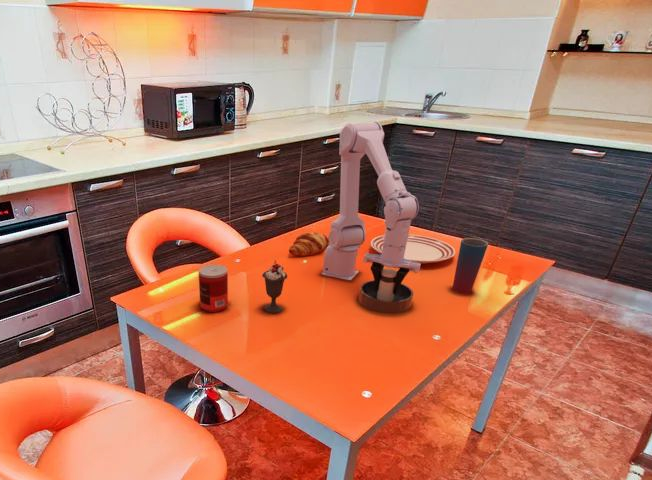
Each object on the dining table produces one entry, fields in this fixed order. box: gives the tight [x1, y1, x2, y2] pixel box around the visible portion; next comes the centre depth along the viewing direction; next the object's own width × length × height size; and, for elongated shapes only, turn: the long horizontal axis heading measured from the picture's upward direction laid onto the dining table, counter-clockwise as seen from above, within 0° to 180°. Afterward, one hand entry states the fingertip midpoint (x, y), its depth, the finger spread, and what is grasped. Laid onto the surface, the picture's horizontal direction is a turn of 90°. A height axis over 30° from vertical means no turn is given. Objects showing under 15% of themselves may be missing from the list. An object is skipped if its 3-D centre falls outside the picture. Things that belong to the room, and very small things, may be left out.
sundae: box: [261, 260, 288, 314], centre depth 128 cm, size 7×7×15 cm
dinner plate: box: [370, 233, 456, 265], centre depth 164 cm, size 27×27×3 cm
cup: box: [451, 237, 489, 295], centre depth 136 cm, size 7×7×15 cm
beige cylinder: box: [377, 268, 398, 301], centre depth 131 cm, size 4×4×8 cm
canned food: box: [198, 264, 229, 313], centre depth 131 cm, size 8×8×11 cm
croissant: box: [288, 231, 330, 257], centre depth 168 cm, size 21×10×8 cm, turn 132°
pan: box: [358, 279, 414, 315], centre depth 133 cm, size 14×14×4 cm
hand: (386, 290), depth 132 cm, fingers closed on beige cylinder, 4 cm apart
